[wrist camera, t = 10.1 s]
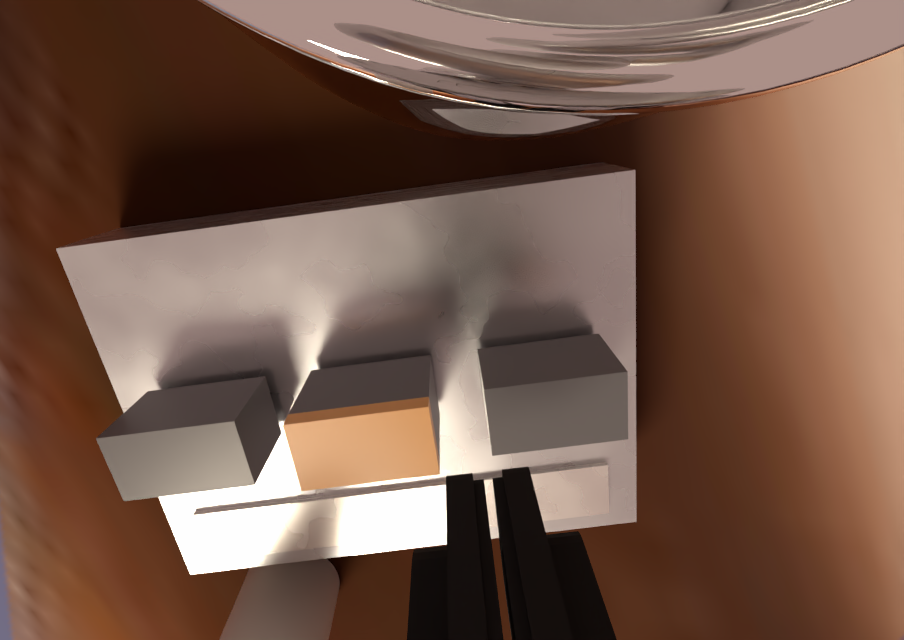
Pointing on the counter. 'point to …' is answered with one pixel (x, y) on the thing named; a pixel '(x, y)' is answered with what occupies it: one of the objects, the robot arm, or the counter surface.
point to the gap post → (285, 602)
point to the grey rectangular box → (192, 439)
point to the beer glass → (561, 55)
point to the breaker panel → (373, 340)
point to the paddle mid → (365, 424)
